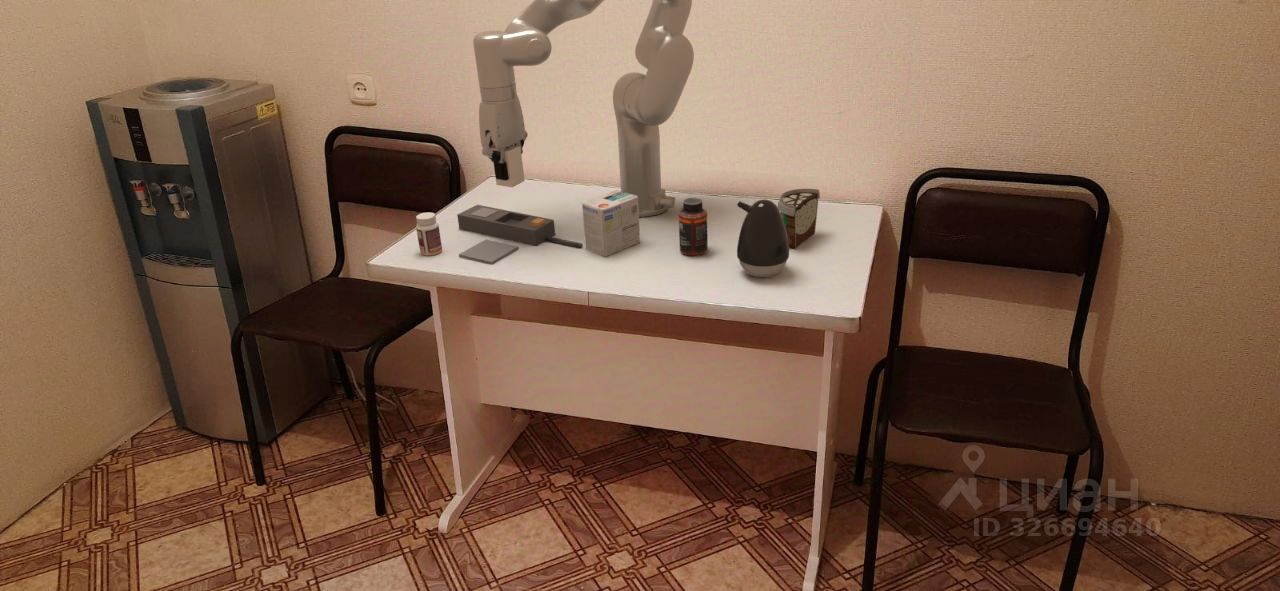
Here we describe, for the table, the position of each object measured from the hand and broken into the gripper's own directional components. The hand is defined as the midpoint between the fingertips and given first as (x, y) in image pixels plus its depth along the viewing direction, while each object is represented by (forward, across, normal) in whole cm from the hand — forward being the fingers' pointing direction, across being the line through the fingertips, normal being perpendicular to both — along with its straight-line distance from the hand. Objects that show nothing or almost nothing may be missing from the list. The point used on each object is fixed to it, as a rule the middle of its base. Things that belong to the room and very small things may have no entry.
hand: (509, 174), depth 197 cm
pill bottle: (+14, +17, -10) cm, 24 cm away
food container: (+15, -23, +56) cm, 63 cm away
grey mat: (+14, +12, +2) cm, 18 cm away
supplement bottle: (+15, -8, +40) cm, 44 cm away
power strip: (+14, +1, +2) cm, 14 cm away
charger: (+2, 0, 0) cm, 2 cm away
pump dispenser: (+15, -5, +58) cm, 60 cm away
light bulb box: (+14, -3, +24) cm, 28 cm away
